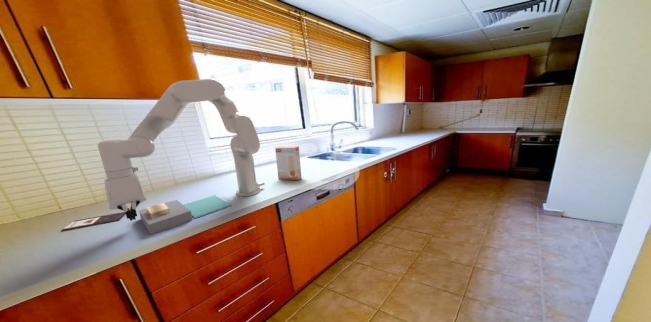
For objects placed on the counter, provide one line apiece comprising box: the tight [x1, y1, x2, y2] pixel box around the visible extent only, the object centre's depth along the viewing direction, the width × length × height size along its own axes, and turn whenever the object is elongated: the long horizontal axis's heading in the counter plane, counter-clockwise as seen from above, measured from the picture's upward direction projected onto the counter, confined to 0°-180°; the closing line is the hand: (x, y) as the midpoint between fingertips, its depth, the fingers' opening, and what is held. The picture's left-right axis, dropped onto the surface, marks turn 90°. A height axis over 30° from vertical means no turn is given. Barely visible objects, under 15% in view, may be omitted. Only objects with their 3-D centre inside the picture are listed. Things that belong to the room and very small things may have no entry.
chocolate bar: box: [60, 211, 126, 232], centre depth 96 cm, size 9×1×18 cm
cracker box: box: [274, 145, 302, 181], centre depth 140 cm, size 14×6×21 cm, turn 69°
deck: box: [138, 199, 193, 235], centre depth 94 cm, size 14×20×4 cm
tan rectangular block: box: [145, 202, 170, 218], centre depth 91 cm, size 6×9×2 cm, turn 48°
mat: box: [183, 195, 233, 219], centre depth 105 cm, size 16×20×1 cm
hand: (132, 218), depth 86 cm, fingers closed
